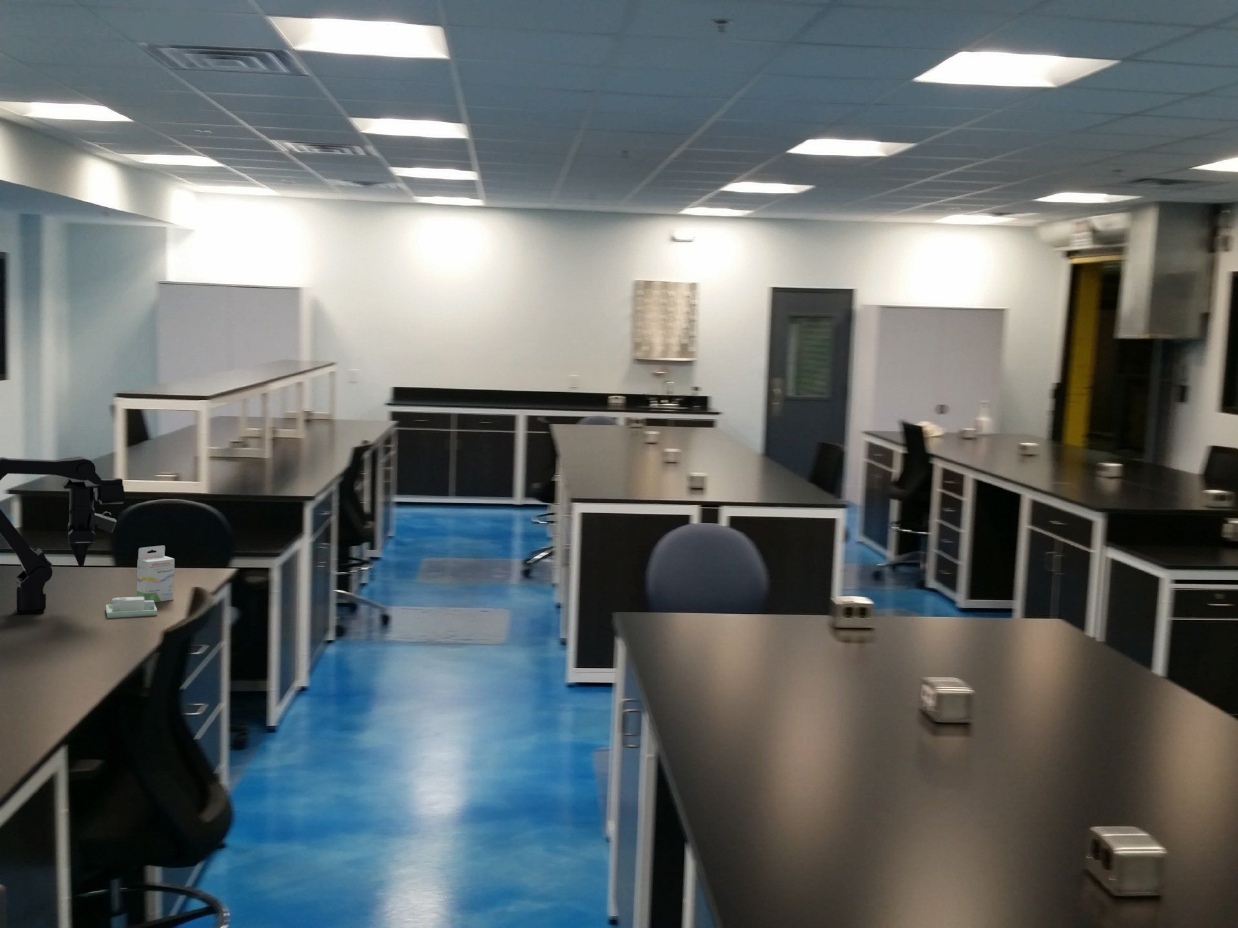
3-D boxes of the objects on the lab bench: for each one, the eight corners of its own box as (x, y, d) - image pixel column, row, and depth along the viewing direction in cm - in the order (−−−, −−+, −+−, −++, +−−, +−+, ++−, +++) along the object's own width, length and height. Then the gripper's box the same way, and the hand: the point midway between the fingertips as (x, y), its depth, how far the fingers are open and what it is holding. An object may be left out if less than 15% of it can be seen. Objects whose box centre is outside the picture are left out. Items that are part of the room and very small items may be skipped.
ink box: (146, 604, 321) (146, 550, 320) (136, 600, 324) (136, 548, 323) (174, 599, 328) (175, 547, 327) (164, 596, 331) (165, 544, 330)
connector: (112, 612, 308) (112, 600, 307) (111, 609, 311) (111, 597, 311) (154, 610, 312) (154, 599, 312) (152, 607, 316) (153, 595, 315)
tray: (107, 617, 305) (107, 612, 305) (105, 609, 313) (105, 604, 313) (157, 615, 310) (157, 610, 310) (154, 607, 318) (154, 602, 318)
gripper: (116, 510, 306) (115, 569, 308) (113, 499, 323) (112, 555, 325) (69, 510, 302) (68, 570, 303) (68, 499, 318) (67, 556, 320)
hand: (80, 562), depth 313 cm, fingers open, 9 cm apart
